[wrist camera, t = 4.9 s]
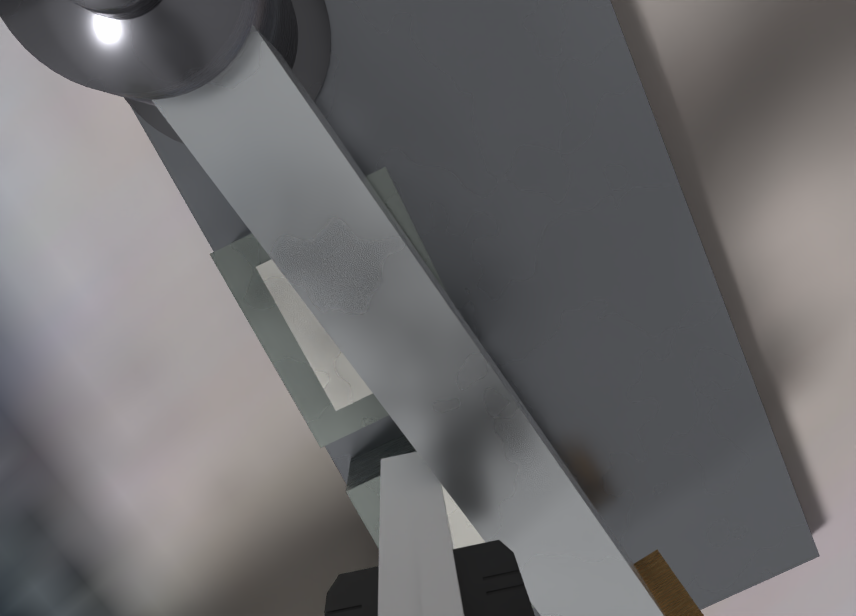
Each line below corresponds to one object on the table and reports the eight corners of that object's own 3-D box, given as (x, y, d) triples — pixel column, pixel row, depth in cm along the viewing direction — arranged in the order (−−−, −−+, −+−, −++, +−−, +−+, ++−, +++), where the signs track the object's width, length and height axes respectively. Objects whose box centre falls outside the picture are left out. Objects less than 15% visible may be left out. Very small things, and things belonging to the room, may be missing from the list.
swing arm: (88, 5, 16) (-123, -109, 9) (226, -101, 15) (107, -295, 9) (542, 609, 20) (611, 812, 14) (656, 538, 20) (782, 712, 14)
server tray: (72, -15, 17) (7, -53, 14) (505, -243, 16) (529, -330, 13) (473, 692, 22) (484, 767, 20) (804, 542, 22) (865, 597, 19)
